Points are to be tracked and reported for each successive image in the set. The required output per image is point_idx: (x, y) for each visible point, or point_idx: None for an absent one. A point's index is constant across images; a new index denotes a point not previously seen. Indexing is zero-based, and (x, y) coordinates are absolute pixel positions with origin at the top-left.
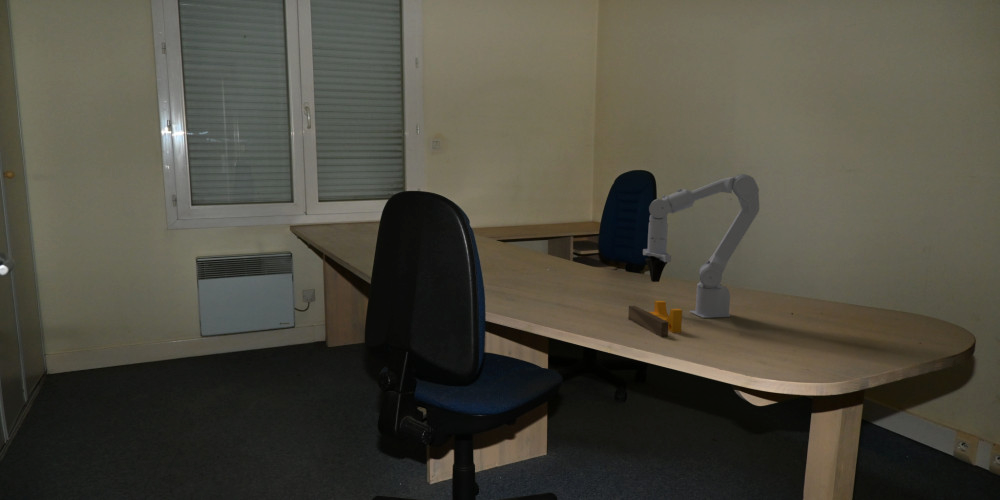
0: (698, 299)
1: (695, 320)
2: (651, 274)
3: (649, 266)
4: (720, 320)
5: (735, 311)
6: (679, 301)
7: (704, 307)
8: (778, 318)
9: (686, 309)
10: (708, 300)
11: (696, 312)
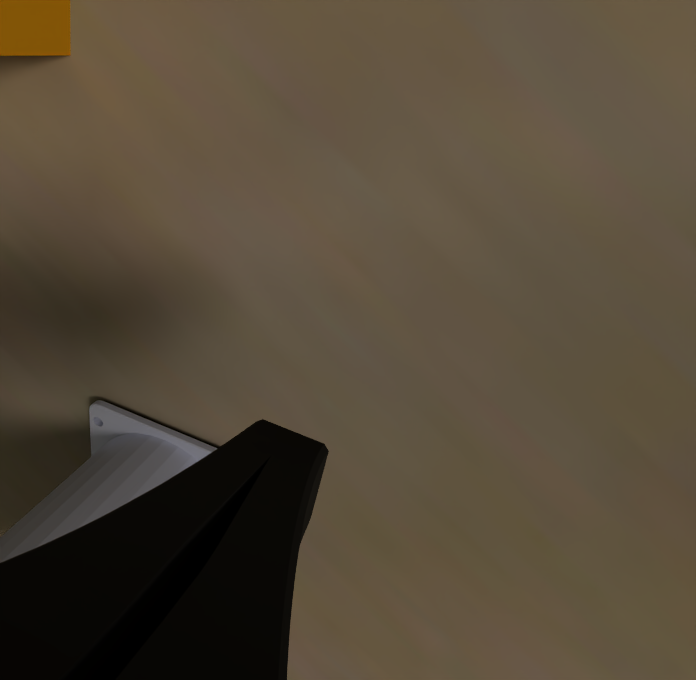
0: (90, 509)
1: (70, 323)
2: (228, 501)
3: (162, 673)
4: (53, 437)
5: None
6: (544, 669)
7: (82, 470)
8: None
9: (332, 516)
10: (26, 514)
11: (172, 448)
